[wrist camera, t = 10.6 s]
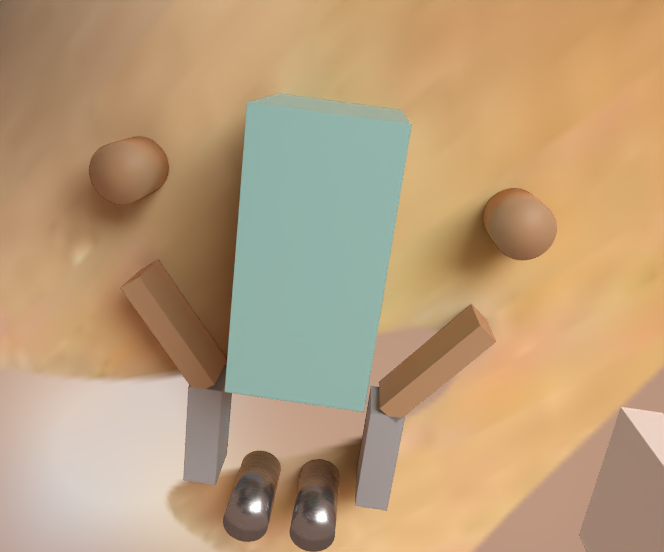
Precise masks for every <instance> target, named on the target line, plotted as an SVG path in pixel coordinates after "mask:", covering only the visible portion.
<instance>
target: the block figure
mask: <svg viewBox="0 0 664 552" xmlns="http://www.w3.org/2000/svg"><path fill="white" fill-rule="evenodd" d="M168 171H169V164H168V160H167V157H166V154H165V153H164V151H163V149H162V148H161V147H160V146H159V145H158V144H157V143H156V142H154V141H153V140H151V139H148V138H145V137H131V138H128V139H124V140H121V141H117V142H114V143H111V144H107V145H105V146H103V147H101V148H100V149H98V150H97V151H96V152H95V154H94V155H93V157H92V159H91V161H90V166H89V174H90V179H91V182H92V184H93V186H94V188H95V189H96V191H97V192H98V193H99V194H100V195H101V196H102V197H103V198H105V199H106V200H108V201H110V202H113V203H116V204H130V203H133V202H135V201H137V200H139V199H141V198H142V197H144V196H146V195H148V194H150V193H151V192H153V191H155V190H157V189H158V188H160V187H161V186H162V185H163V183H164V182H165V180H166V178H167V176H168ZM483 222H484V226H485V229H486V231H487V232H488V234H489V235H490V237H491V238H492V240H493V241H494V243H495V244H496V246H497V247H498V248H499V250H500V251H501V252H502V253H503V254H505V255H506V256H508V257H510V258H512V259H516V260H529V259H533V258H536V257H538V256H540V255H542V254H543V253H544V252H546V251H547V250H548V249H549V247H550V246H551V245H552V243H553V241H554V239H555V236H556V232H557V223H556V219H555V217H554V215H553V213H552V211H551V210H550V209H549V208H548V207H547V206H545V205H544V204H543V203H542V202H541V201H539V200H538V199H537V198H536V197H534V196H533V195H532V194H530V193H529V192H527V191H525V190H522V189H517V188H511V189H506V190H503V191H501V192H499V193H497V194H496V195H494V196H493V197H492V198H491V199H490V200H489V202H488V203H487V205H486V207H485V210H484V214H483ZM120 289H121V290H122V291H123V293H124V294H125V296H126V297H127V298H128V300H129V301H130V303H131V304H132V305H133V307H134V308H135V309H136V311H137V312H138V314H139V315H140V316H141V318H142V319H143V321H144V322H145V323H146V325H147V326H148V328H149V329H150V330H151V332H152V333H153V335H154V336H155V337H156V339H157V340H158V342H159V343H160V344H161V346H162V347H163V349H164V350H165V351H166V353H167V354H168V355H169V357H170V358H171V360H172V361H173V362H174V364H175V365H176V367H177V368H178V369H179V371H180V372H181V374H182V375H183V376H184V378H185V379H186V381H188V383H189V387H188V406H187V425H186V442H185V461H184V479H183V480H185V481H192V482H198V483H205V484H212V485H215V484H216V481H217V479H218V476H219V473H220V471H221V468H222V465H223V463H224V460H225V458H226V455H227V446H228V433H229V421H230V409H231V395H232V393H229V392H225V381H226V369H227V365H225V363H226V361H227V359H226V357H225V356H224V354H223V353H222V351H221V350H220V349H219V347H218V346H217V344H216V343H215V341H214V340H213V338H212V337H211V335H210V334H209V333H208V331H207V330H206V328H205V327H204V325H203V324H202V322H201V321H200V320H199V318H198V317H197V315H196V314H195V312H194V311H193V309H192V308H191V306H190V305H189V304H188V302H187V301H186V299H185V298H184V296H183V295H182V293H181V292H180V290H179V289H178V288H177V286H176V285H175V283H174V282H173V280H172V279H171V277H170V276H169V274H168V273H167V272H166V270H165V269H164V267H163V266H162V264H161V263H160V261H159V260H157V261H155V262H154V263H152V264H150V265H149V266H147V267H145V268H143V269H142V270H140V271H139V272H138V273H137V274H136V275H134V276H133V277H132V278H131V279H130V280H129V281H128V282H126V283H125V284H124V285H123V286H122V287H121V288H120ZM495 342H496V340H495V338H494V336H493V333H492V331H491V329H490V327H489V324H488V322H487V320H486V318H485V317H484V316H483V315H482V314H481V313H480V312H479V311H478V310H477V309H476V308H475V307H474V306H473V305H472V304H471V305H470V306H469V307H467V308H466V309H465V310H464V311H463V312H461V313H460V314H459V315H458V316H457V317H455V318H454V319H453V320H452V321H451V322H450V323H448V324H447V325H446V326H445V327H444V328H442V329H441V330H440V331H439V332H438V333H436V334H435V335H434V336H433V337H432V338H431V339H430V340H428V341H427V342H426V343H425V344H424V345H422V346H421V347H420V348H419V349H418V350H416V351H415V352H414V353H413V354H412V355H410V356H409V357H408V358H407V359H406V360H405V361H403V362H402V363H401V364H400V365H399V366H397V367H396V368H395V369H394V370H393V371H392V372H390V373H389V374H388V375H387V376H385V377H384V378H383V379H382V380H381V381H380V382H379V387H374V386H371V389H370V396H369V402H368V407H367V414H366V419H365V425H364V431H363V437H362V443H361V449H360V455H359V461H358V467H357V473H356V495H355V506H360V507H366V508H373V509H380V510H386V511H387V508H388V503H389V498H390V493H391V487H392V482H393V477H394V472H395V467H396V461H397V456H398V451H399V446H400V440H401V435H402V430H403V425H404V420H405V415H406V414H407V413H409V412H410V411H411V410H412V409H414V408H415V407H416V406H417V405H419V404H420V403H421V402H422V401H424V400H425V399H426V398H427V397H428V396H430V395H431V394H432V393H433V392H435V391H436V390H437V389H438V388H440V387H441V386H442V385H443V384H444V383H446V382H447V381H448V380H450V379H451V378H452V377H453V376H454V375H456V374H457V373H458V372H459V371H461V370H462V369H463V368H464V367H466V366H467V365H468V364H469V363H471V362H472V361H473V360H474V359H475V358H477V357H478V356H479V355H480V354H482V353H483V352H484V351H485V350H487V349H488V348H489V347H490V346H492V345H493V344H494V343H495Z"/></svg>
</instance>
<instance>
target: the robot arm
mask: <svg viewBox="0 0 664 552" xmlns="http://www.w3.org/2000/svg"><path fill="white" fill-rule="evenodd" d="M579 536H580V538H581V540H582V543H583V545H584V547H585V550H586V552H664V413H659V412H652V411H645V410H638V409H632V408H625V407H621V408H620V411H619V415H618V417H617V420H616V424H615V427H614V430H613V433H612V436H611V439H610V442H609V445H608V448H607V451H606V454H605V457H604V461H603V463H602V467H601V469H600V472H599V475H598V479H597V482H596V485H595V488H594V491H593V494H592V497H591V500H590V503H589V506H588V509H587V512H586V515H585V519H584V521H583V524H582V528H581V531H580V534H579Z"/></svg>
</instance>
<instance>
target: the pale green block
mask: <svg viewBox="0 0 664 552" xmlns="http://www.w3.org/2000/svg"><path fill="white" fill-rule="evenodd" d="M411 126H412V124H411V123H410V122H409V120H408V119H407V117H406V116H405V114H404V113H403V112H402V110H399V109H391V108H384V107H377V106H369V105H362V104H355V103H347V102H340V101H332V100H325V99H318V98H310V97H303V96H296V95H288V94H281V93H280V94H276V95H272V96H269V97H265V98H261V99H258V100H254V101H250V102H247V111H246V124H245V137H244V150H243V163H242V176H241V188H240V201H239V214H238V227H237V240H236V253H235V266H234V278H233V291H232V304H231V317H230V330H229V343H228V356H227V369H226V381H225V392H229V393H236V394H243V395H250V396H257V397H264V398H270V399H277V400H284V401H291V402H299V403H305V404H312V405H319V406H326V407H333V408H340V409H346V410H354V411H360V412H364V409H365V403H366V397H367V391H368V384H369V379H370V373H371V366H372V361H373V354H374V348H375V343H376V337H377V331H378V325H379V319H380V313H381V307H382V301H383V295H384V289H385V282H386V276H387V270H388V264H389V258H390V252H391V246H392V240H393V234H394V228H395V222H396V216H397V210H398V204H399V198H400V192H401V186H402V180H403V174H404V168H405V162H406V156H407V150H408V144H409V138H410V132H411Z"/></svg>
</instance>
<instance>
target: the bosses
mask: <svg viewBox="0 0 664 552" xmlns="http://www.w3.org/2000/svg"><path fill="white" fill-rule="evenodd" d="M280 471H281V466H280V463H279V461H278V459H277V458H276V457H275V456H274V455H272V454H271V453H268V452H265V451H254V452H251V453H249V454H248V455H246V457H245V458H244V459H243V461H242V464H241V467H240V470H239V473H238V476H237V479H236V482H235V485H234V488H233V491H232V494H231V497H230V500H229V503H228V506H227V509H226V512H225V515H224V519H223V524H224V528H225V530H226V531H227V533H228V534H229V535H230V536H232V537H233V538H235V539H237V540H240V541H245V542H250V541H255V540H258V539H260V538H261V537H262V536H264V534H265V533H266V531H267V528H268V523H269V519H270V515H271V511H272V506H273V502H274V498H275V493H276V489H277V485H278V480H279V476H280ZM339 478H340V476H339V472H338V470H337V468H336V467H335V466H334V465H333V464H332V463H330V462H328V461H325V460H312V461H309V462H308V463H306V464H305V465H304V466H303V467H302V469H301V472H300V477H299V483H298V488H297V494H296V499H295V505H294V510H293V516H292V521H291V527H290V537H291V539H292V541H293V542H294V543H295V544H296V545H297V546H298V547H299V548H301V549H303V550H306V551H312V552H316V551H321V550H324V549H326V548H328V547H329V546H330V545H331V544H332V542H333V540H334V537H335V525H336V513H337V502H338V490H339Z"/></svg>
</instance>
